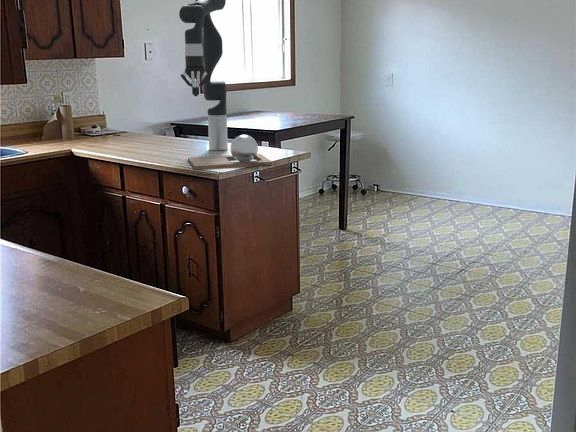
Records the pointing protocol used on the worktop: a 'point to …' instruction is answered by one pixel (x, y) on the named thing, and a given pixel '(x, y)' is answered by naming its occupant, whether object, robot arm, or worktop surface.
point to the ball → (244, 148)
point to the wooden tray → (225, 162)
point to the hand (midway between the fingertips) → (195, 96)
